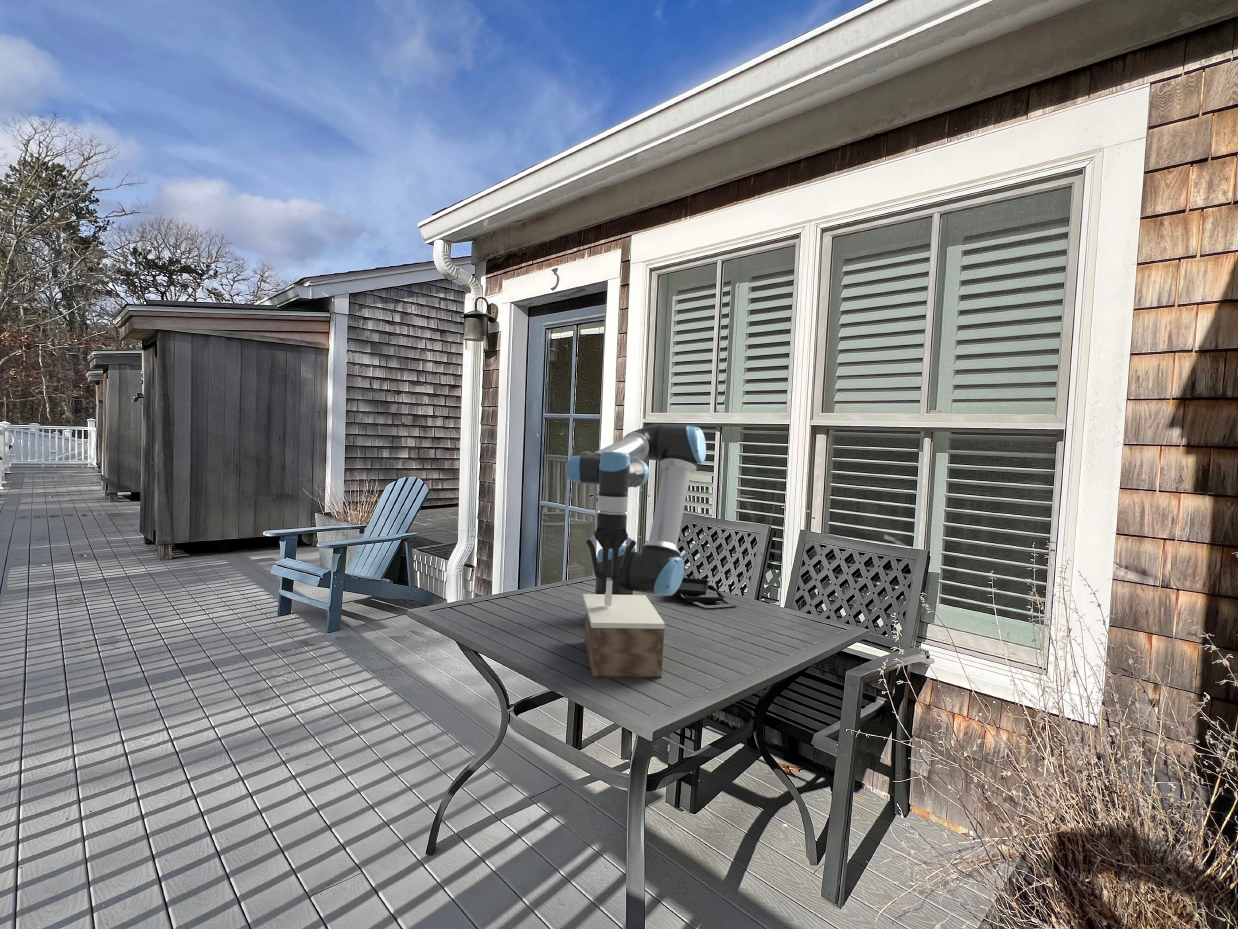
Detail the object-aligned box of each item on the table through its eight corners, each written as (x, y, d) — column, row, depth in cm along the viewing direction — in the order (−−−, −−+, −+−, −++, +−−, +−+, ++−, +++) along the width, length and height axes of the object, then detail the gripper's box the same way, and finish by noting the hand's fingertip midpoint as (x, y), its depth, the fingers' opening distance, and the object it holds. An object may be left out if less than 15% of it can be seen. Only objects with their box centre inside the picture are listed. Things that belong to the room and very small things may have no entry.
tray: (748, 606, 229) (749, 591, 229) (699, 614, 215) (700, 598, 215) (691, 588, 253) (692, 574, 253) (644, 593, 240) (645, 579, 240)
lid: (645, 599, 181) (645, 595, 181) (664, 628, 154) (665, 623, 154) (582, 598, 179) (583, 594, 179) (591, 627, 151) (591, 622, 151)
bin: (643, 642, 181) (645, 600, 180) (661, 677, 155) (664, 628, 154) (584, 642, 179) (586, 598, 178) (592, 677, 153) (595, 627, 152)
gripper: (635, 511, 169) (630, 601, 170) (585, 509, 168) (581, 600, 169) (639, 515, 162) (635, 608, 163) (587, 513, 160) (583, 608, 161)
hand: (607, 604), depth 166 cm, fingers closed
